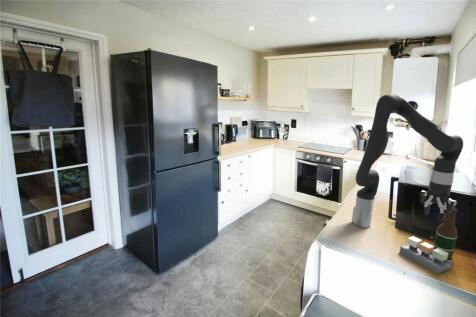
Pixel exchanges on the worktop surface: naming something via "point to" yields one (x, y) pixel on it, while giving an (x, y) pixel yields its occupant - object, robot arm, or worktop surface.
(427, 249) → the key terracotta
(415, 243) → the key ivory
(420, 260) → the grey tray
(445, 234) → the beer bottle
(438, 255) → the key sage
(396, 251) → the worktop surface
